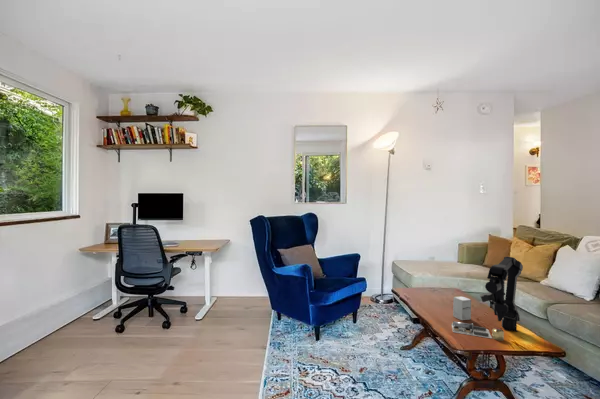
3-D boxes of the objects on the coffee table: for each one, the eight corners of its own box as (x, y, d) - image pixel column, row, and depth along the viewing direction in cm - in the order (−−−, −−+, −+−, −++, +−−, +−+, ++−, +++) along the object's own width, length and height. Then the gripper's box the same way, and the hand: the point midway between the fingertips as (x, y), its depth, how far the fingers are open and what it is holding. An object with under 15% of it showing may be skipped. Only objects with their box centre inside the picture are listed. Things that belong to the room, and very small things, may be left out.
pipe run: (487, 329, 175) (488, 322, 175) (492, 338, 164) (492, 330, 164) (451, 324, 183) (451, 316, 183) (452, 332, 172) (453, 324, 172)
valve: (502, 337, 166) (502, 327, 166) (504, 341, 161) (504, 330, 161) (491, 335, 168) (491, 325, 168) (493, 339, 163) (493, 329, 163)
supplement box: (461, 320, 188) (462, 300, 188) (452, 316, 195) (453, 296, 195) (471, 319, 190) (471, 299, 190) (462, 315, 197) (462, 295, 197)
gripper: (478, 283, 176) (478, 310, 176) (483, 292, 159) (483, 321, 159) (501, 285, 172) (500, 313, 172) (508, 295, 155) (508, 325, 155)
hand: (497, 318), depth 165 cm, fingers open, 9 cm apart
